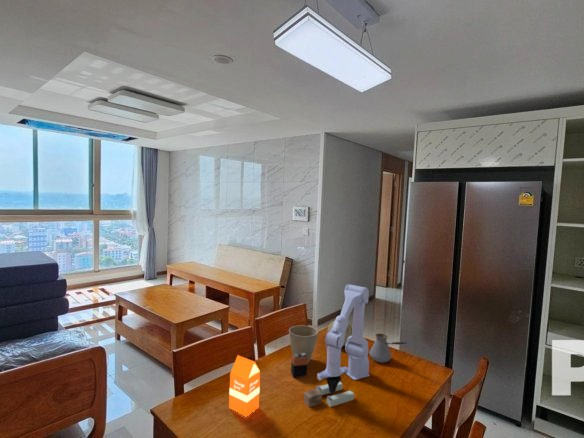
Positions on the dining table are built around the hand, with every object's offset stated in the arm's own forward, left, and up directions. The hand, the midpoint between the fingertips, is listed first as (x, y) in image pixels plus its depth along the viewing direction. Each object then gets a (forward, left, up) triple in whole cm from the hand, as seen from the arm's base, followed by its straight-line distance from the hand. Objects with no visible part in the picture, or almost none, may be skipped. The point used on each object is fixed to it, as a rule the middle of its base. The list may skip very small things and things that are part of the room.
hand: (332, 392), depth 133 cm
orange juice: (+36, -8, -2) cm, 37 cm away
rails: (-1, 0, -2) cm, 2 cm away
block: (+9, 0, -2) cm, 10 cm away
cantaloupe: (-34, -40, -2) cm, 52 cm away
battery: (+4, -21, -2) cm, 22 cm away
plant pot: (-4, -32, -2) cm, 32 cm away
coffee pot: (-44, -12, -2) cm, 46 cm away
